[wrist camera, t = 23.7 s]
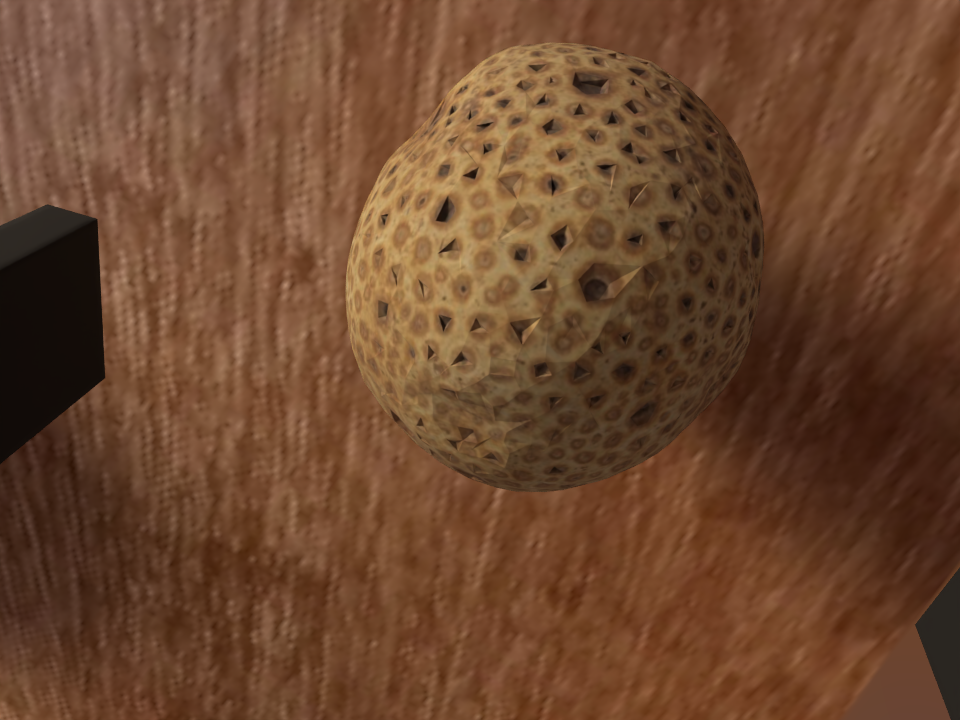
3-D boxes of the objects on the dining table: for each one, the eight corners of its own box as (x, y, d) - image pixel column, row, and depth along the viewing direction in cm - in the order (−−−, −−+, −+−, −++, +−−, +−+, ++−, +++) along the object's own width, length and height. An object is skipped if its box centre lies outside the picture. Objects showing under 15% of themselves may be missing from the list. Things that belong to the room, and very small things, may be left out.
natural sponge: (418, 12, 20) (238, 70, 11) (778, 32, 18) (888, 115, 10) (420, 327, 24) (292, 542, 16) (709, 362, 23) (744, 619, 14)
